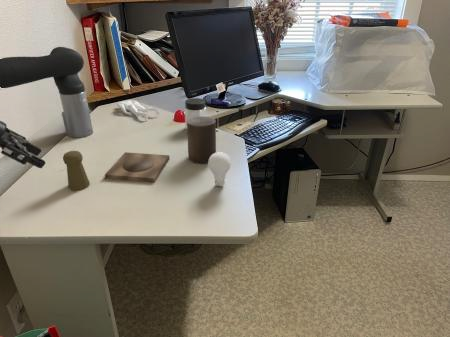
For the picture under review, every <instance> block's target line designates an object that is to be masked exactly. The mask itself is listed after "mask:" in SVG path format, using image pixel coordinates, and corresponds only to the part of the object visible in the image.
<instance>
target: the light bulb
mask: <svg viewBox="0 0 450 337" xmlns="http://www.w3.org/2000/svg"><path fill="white" fill-rule="evenodd" d="M231 165H232V162H231V158H230V156H229V155H228V154H227V153H225V152H221V151H216V153H214V154H212V155H211V156H210V158H209V161H208V163H207V166H208V169H209V170H210V172H211V173H212V175H213V179H214V185H215V186H216V187H223V186H224V185H225V182H226V181H225V179H226V176H227V173H228V172H229V171H230V169H231Z"/></svg>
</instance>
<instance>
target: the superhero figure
mask: <svg viewBox="0 0 450 337" xmlns="http://www.w3.org/2000/svg"><path fill="white" fill-rule="evenodd" d="M117 108H118V109H119V110H118V111H119V112H120V113H124V114H125V115H129V116H131V117H132V116H134V115H135V116H137V117H139V116H140V117H142V116H143V117H144V119H145V122H149V117H148V114H147V113H148V112H155V113H156V114H155V115H156V116H157V117H158V116H160V111H159V110H158V108H157V107H150V106H149V107H147V108H145V107H144V106H143V105H141V103H139V102H138V101H136V100H132V99H131V100H123V101H119V102H117ZM128 111H129V112H128Z"/></svg>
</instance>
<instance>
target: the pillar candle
mask: <svg viewBox="0 0 450 337" xmlns="http://www.w3.org/2000/svg"><path fill="white" fill-rule="evenodd" d="M216 123H217V122H216V119H215V118H214V117H211V116H206V117H203V116H199V117H193V118H190V119H188V120H187V129H186V130H187V155H188V160H189V161H191V162H192V163H194V164H198V165H199V164H201V165H202V164H203V165H204V164H208V161H209V158H210V156H211V155H212V154H214V153H216V152H217V130H216V128H217V127H216V126H217V125H216Z"/></svg>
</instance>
